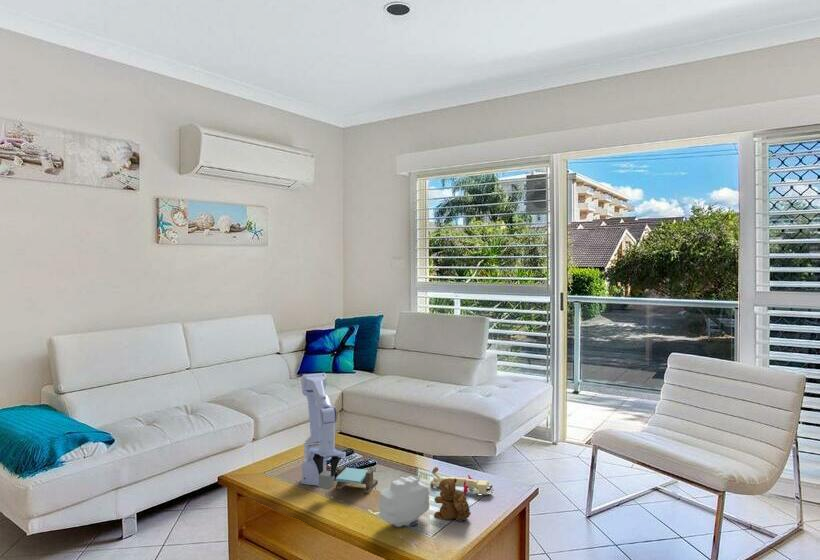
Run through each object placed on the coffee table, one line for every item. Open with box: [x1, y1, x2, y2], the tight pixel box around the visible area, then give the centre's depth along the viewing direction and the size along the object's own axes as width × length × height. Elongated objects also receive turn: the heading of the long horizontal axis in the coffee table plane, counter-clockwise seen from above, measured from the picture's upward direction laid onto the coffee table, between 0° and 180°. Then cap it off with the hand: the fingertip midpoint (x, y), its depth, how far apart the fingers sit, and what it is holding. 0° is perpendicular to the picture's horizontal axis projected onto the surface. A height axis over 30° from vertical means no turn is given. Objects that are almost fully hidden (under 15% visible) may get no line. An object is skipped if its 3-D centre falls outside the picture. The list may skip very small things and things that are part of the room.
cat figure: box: [429, 466, 494, 495], centre depth 206 cm, size 10×9×25 cm
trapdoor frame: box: [335, 465, 378, 494], centre depth 209 cm, size 14×10×8 cm
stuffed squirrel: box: [433, 478, 472, 521], centre depth 184 cm, size 10×14×13 cm
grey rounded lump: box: [377, 473, 430, 528], centre depth 180 cm, size 11×18×16 cm, turn 127°
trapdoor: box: [335, 467, 369, 485], centre depth 204 cm, size 10×11×4 cm
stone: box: [318, 470, 336, 490], centre depth 197 cm, size 4×4×5 cm
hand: (326, 474), depth 197 cm, fingers closed on stone, 4 cm apart
